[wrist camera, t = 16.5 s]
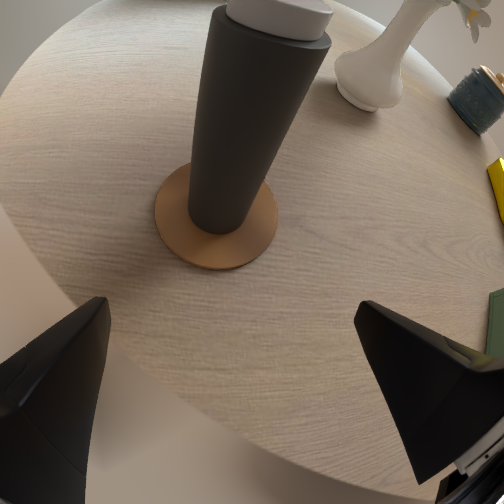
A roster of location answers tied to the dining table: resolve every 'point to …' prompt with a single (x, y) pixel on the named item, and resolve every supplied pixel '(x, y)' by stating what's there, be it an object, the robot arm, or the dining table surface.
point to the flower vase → (395, 53)
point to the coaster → (206, 244)
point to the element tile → (498, 183)
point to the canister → (479, 99)
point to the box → (496, 325)
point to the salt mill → (249, 100)
